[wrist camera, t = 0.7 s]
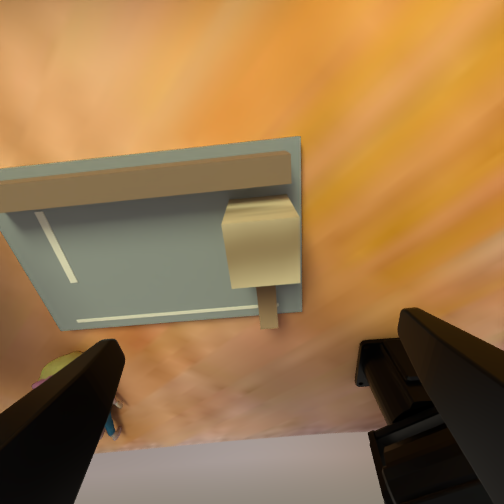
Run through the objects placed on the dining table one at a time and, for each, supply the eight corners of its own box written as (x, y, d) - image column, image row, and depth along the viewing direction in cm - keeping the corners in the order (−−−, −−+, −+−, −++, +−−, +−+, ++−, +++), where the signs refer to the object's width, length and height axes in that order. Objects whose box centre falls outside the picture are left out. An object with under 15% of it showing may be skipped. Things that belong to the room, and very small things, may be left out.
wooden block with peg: (290, 308, 21) (301, 356, 17) (245, 312, 21) (243, 360, 17) (286, 194, 17) (299, 216, 12) (228, 199, 17) (221, 224, 13)
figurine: (138, 419, 32) (105, 341, 24) (123, 461, 28) (78, 384, 21) (92, 419, 32) (45, 341, 24) (71, 461, 28) (7, 384, 20)
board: (300, 305, 22) (308, 332, 19) (66, 324, 23) (39, 353, 20) (298, 136, 16) (309, 138, 13) (-23, 171, 17) (-81, 180, 14)
